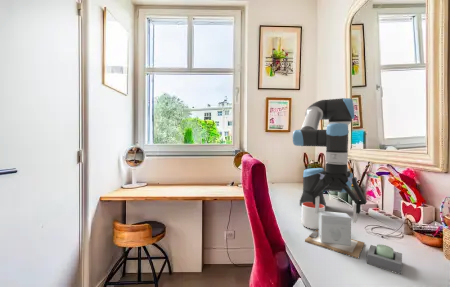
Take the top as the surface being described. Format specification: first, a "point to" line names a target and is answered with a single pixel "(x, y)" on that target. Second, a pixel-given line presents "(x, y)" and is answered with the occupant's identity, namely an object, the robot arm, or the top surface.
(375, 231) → the top surface
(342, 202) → the top surface
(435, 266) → the top surface
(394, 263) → the button box
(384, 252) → the button
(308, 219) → the cup
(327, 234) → the skincare box
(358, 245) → the clipboard
